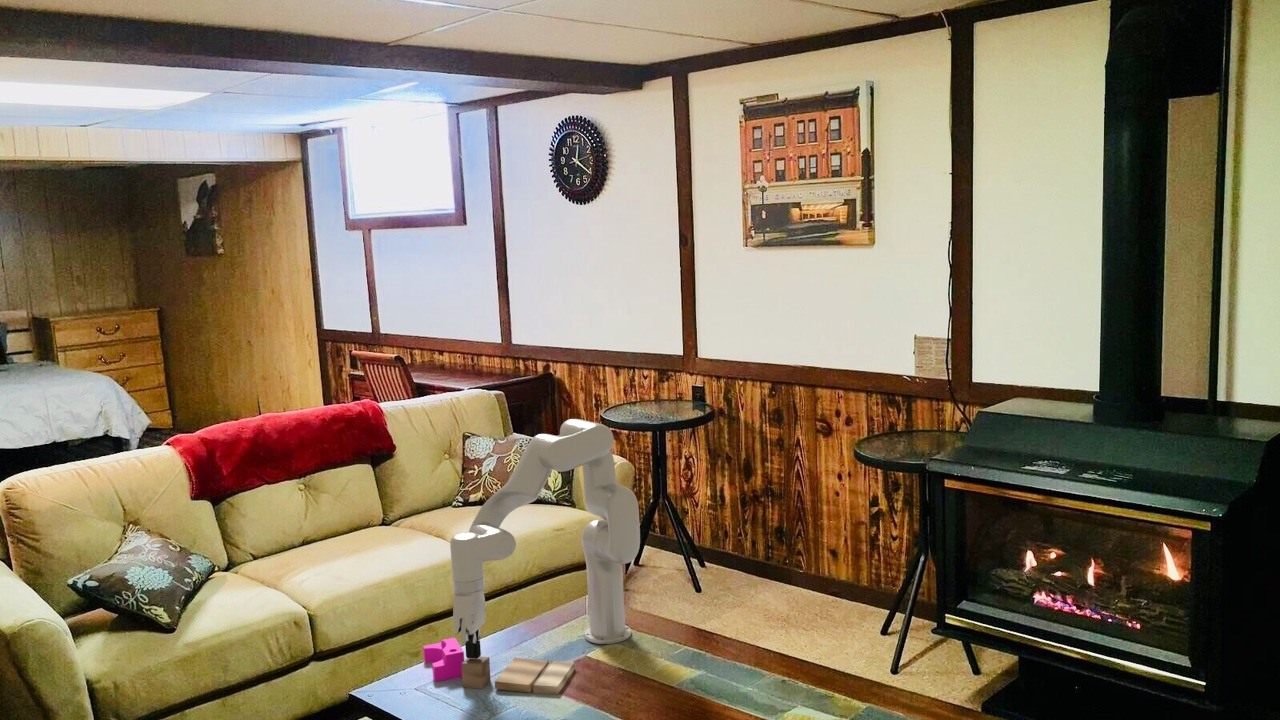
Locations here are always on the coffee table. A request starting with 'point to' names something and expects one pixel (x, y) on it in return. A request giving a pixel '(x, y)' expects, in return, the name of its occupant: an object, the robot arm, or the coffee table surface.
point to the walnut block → (476, 672)
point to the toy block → (445, 659)
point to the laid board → (553, 677)
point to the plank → (521, 675)
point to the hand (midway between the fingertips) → (473, 656)
